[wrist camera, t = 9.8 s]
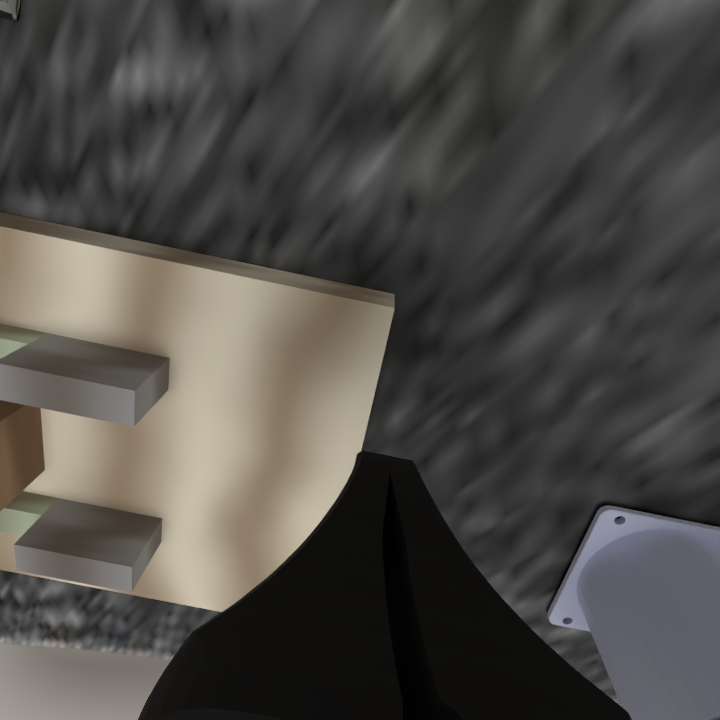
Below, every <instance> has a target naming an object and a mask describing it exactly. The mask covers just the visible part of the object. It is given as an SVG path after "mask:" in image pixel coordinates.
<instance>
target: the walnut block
mask: <svg viewBox="0 0 720 720" xmlns="http://www.w3.org/2000/svg"><path fill="white" fill-rule="evenodd" d="M43 471H45V464H44V450H43V436H42V422H41V408H38V407H33V406H28V405H23V404H18V403H13V402H8V401H3V400H0V511H1V510H2V509H4V508H5V507H6V506H7V505H8V504H9V503H10V502H11V501H12V500H13V499H14V498H15V497H16V496H18V495H19V494H20V493H21V492H22V491H23V490H24V489H25V488H26V487H27V486H28V485H29V484H30V483H32V482H33V481H34V480H35V479H36V478H37V477H38V476H39V475H40V474H41V473H42V472H43Z"/></svg>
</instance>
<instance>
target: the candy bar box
mask: <svg viewBox="0 0 720 720" xmlns="http://www.w3.org/2000/svg"><path fill="white" fill-rule="evenodd" d="M19 6H20V0H0V17H2V18H5V19H9V20H13V21H14V20H16V19H17V16H18V11H19Z"/></svg>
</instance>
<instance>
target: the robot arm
mask: <svg viewBox="0 0 720 720" xmlns="http://www.w3.org/2000/svg"><path fill="white" fill-rule="evenodd" d="M619 516H621V517H620V518H619V519H615V518H616V517H619ZM547 616H548V619H549V621H550V622H551V623H552V624H554V625H558V626H564V627H569V628H574V629H579V630H584V631H589V632H591V634H592V636H593V639H594V641H595V644H596V646H597V648H598V651H599V653H600V656H601V658H602V660H603V663H604V665H605V668H606V670H607V673H608V675H609V677H610V680H611V682H612V685H613V687H614V690H615V692H616V694H617V697H618V699H619V702H620V704H621V706H620V705H618V704H617V703H616V702H615V701H613V700H612V699H611V698H610V697H609V696H607V695H606V694H605V693H604V692H602V691H601V690H600V689H599V688H597V687H596V686H595V685H594V684H592V683H591V682H590V681H589V680H587V679H586V678H585V677H584V676H582V675H581V674H580V673H579V672H577V671H576V670H575V669H574V668H573V667H572V666H570V665H569V664H568V663H567V662H566V661H565V660H564V659H563V658H562V657H560V656H559V655H558V654H557V653H556V652H555V651H554V650H553V649H552V648H551V647H549V646H548V645H547V644H546V643H545V642H544V641H543V640H542V639H541V638H540V637H539V636H538V635H537V634H536V633H535V632H534V631H533V630H532V629H531V628H530V627H529V626H528V625H527V624H526V623H525V622H524V621H523V620H522V619H521V618H520V617H519V616H518V615H517V614H516V613H515V612H514V611H513V610H512V609H511V608H510V606H509V605H508V604H507V603H506V602H505V601H504V600H503V599H502V598H501V597H500V595H499V594H498V593H497V592H496V591H495V590H494V589H493V587H492V586H491V585H490V584H489V583H488V581H487V580H486V579H485V578H484V576H483V575H482V574H481V573H480V571H479V570H478V569H477V568H476V566H475V565H474V564H473V562H472V561H471V560H470V558H469V557H468V556H467V554H466V553H465V551H464V550H463V548H462V547H461V545H460V544H459V542H458V541H457V539H456V538H455V536H454V535H453V533H452V532H451V530H450V528H449V527H448V525H447V524H446V522H445V520H444V518H443V517H442V515H441V513H440V512H439V510H438V508H437V506H436V505H435V503H434V501H433V499H432V497H431V495H430V494H429V492H428V490H427V488H426V486H425V484H424V482H423V480H422V478H421V476H420V474H419V472H418V470H417V468H416V466H415V464H414V462H413V461H412V460H407V459H402V458H397V457H392V456H387V455H382V454H377V453H372V452H367V451H361V452H359V453H357V456H356V460H355V465H354V468H353V470H352V473H351V475H350V477H349V479H348V481H347V483H346V484H345V486H344V488H343V489H342V491H341V493H340V494H339V496H338V498H337V499H336V501H335V502H334V504H333V505H332V507H331V508H330V509H329V511H328V512H327V513H326V515H325V516H324V517H323V519H322V520H321V522H320V523H319V524H318V525H317V527H316V528H315V529H314V530H313V532H312V533H311V534H310V535H309V536H308V537H307V538H306V540H305V541H304V542H303V543H302V544H301V545H300V546H299V547H298V548H297V549H296V550H295V551H294V552H293V553H292V554H291V555H290V556H289V557H288V558H287V559H286V560H285V561H284V562H283V563H282V564H281V565H280V566H279V567H278V568H277V569H276V570H275V571H274V572H273V573H272V574H270V575H269V576H268V577H267V578H266V579H264V580H263V581H262V582H261V583H260V584H258V585H257V586H256V587H255V588H253V589H252V590H251V591H250V592H248V593H247V594H246V595H245V596H243V597H242V598H241V599H240V600H238V601H237V602H236V603H234V604H233V605H232V606H230V607H229V608H227V609H226V610H224V611H223V612H221V613H220V614H218V615H217V616H215V617H214V618H212V619H211V620H209V621H208V622H206V623H205V624H203V625H202V626H200V627H199V628H197V629H196V630H194V631H193V632H192V633H191V634H190V636H189V637H188V638H187V640H186V641H185V642H184V644H183V645H182V646H181V648H180V649H179V650H178V652H177V653H176V655H175V656H174V657H173V659H172V660H171V662H170V663H169V665H168V666H167V668H166V669H165V671H164V672H163V674H162V675H161V677H160V679H159V680H158V682H157V683H156V685H155V687H154V689H153V691H152V693H151V694H150V696H149V697H148V699H147V701H146V703H145V705H144V707H143V710H142V712H141V714H140V716H139V719H138V720H720V527H716V526H711V525H706V524H701V523H696V522H691V521H686V520H681V519H676V518H671V517H666V516H661V515H656V514H651V513H646V512H641V511H636V510H631V509H626V508H621V507H616V506H609V505H607V506H603V507H601V508H600V509H599V510H598V511H597V513H596V515H595V517H594V519H593V521H592V523H591V525H590V527H589V529H588V531H587V533H586V535H585V537H584V539H583V541H582V543H581V545H580V547H579V549H578V551H577V553H576V555H575V557H574V559H573V561H572V563H571V565H570V567H569V569H568V572H567V574H566V576H565V578H564V580H563V582H562V584H561V586H560V588H559V590H558V592H557V594H556V596H555V598H554V600H553V602H552V604H551V606H550V608H549V610H548V613H547Z"/></svg>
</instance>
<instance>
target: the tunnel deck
mask: <svg viewBox="0 0 720 720" xmlns="http://www.w3.org/2000/svg"><path fill="white" fill-rule="evenodd" d="M394 309H395V295H394V294H392V293H387V292H383V291H378V290H373V289H368V288H363V287H358V286H354V285H349V284H344V283H339V282H334V281H330V280H325V279H320V278H315V277H310V276H306V275H301V274H296V273H291V272H286V271H282V270H277V269H272V268H267V267H262V266H258V265H253V264H248V263H243V262H238V261H234V260H229V259H224V258H219V257H214V256H210V255H205V254H200V253H195V252H190V251H186V250H181V249H176V248H171V247H166V246H162V245H157V244H152V243H147V242H142V241H138V240H133V239H128V238H123V237H118V236H114V235H109V234H104V233H99V232H94V231H90V230H85V229H80V228H75V227H70V226H66V225H61V224H56V223H51V222H46V221H42V220H37V219H32V218H27V217H22V216H18V215H13V214H8V213H3V212H0V400H3V401H8V402H13V403H18V404H23V405H28V406H33V407H38V408H41V422H42V436H43V450H44V464H45V471H43V472H42V473H41V474H40V475H39V476H38V477H37V478H36V479H35V480H34V481H33V482H32V483H30V484H29V485H28V486H27V487H26V488H25V489H24V490H23V491H22V492H21V493H20V494H19V495H18V496H16V497H15V498H14V499H13V500H12V501H11V502H10V503H9V504H8V505H7V506H6V507H5V508H4V509H2V510H1V511H0V570H5V571H10V572H15V573H21V574H26V575H31V576H36V577H41V578H47V579H52V580H57V581H62V582H68V583H73V584H78V585H83V586H88V587H94V588H99V589H104V590H109V591H115V592H120V593H125V594H130V595H136V596H141V597H146V598H151V599H156V600H162V601H167V602H172V603H177V604H183V605H188V606H193V607H198V608H204V609H209V610H214V611H219V612H223V611H224V610H226V609H227V608H229V607H230V606H232V605H233V604H234V603H236V602H237V601H238V600H240V599H241V598H242V597H243V596H245V595H246V594H247V593H248V592H250V591H251V590H252V589H253V588H255V587H256V586H257V585H258V584H260V583H261V582H262V581H263V580H264V579H266V578H267V577H268V576H269V575H270V574H272V573H273V572H274V571H275V570H276V569H277V568H278V567H279V566H280V565H281V564H282V563H283V562H284V561H285V560H286V559H287V558H288V557H289V556H290V555H291V554H292V553H293V552H294V551H295V550H296V549H297V548H298V547H299V546H300V545H301V544H302V543H303V542H304V541H305V540H306V538H307V537H308V536H309V535H310V534H311V533H312V532H313V530H314V529H315V528H316V527H317V525H318V524H319V523H320V522H321V520H322V519H323V517H324V516H325V515H326V513H327V512H328V511H329V509H330V508H331V507H332V505H333V504H334V502H335V501H336V499H337V498H338V496H339V494H340V493H341V491H342V489H343V488H344V486H345V484H346V483H347V481H348V479H349V477H350V475H351V473H352V470H353V468H354V465H355V460H356V456H357V453H359V452H361V450H362V445H363V441H364V437H365V433H366V428H367V424H368V420H369V416H370V411H371V407H372V403H373V399H374V394H375V390H376V386H377V382H378V377H379V373H380V369H381V365H382V360H383V356H384V352H385V348H386V343H387V339H388V335H389V331H390V326H391V322H392V318H393V314H394Z"/></svg>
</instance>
